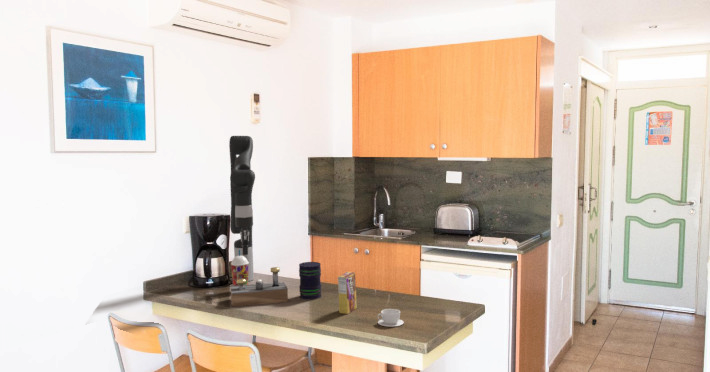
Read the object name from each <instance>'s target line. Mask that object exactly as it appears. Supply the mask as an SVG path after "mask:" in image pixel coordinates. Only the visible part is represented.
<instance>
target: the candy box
mask: <svg viewBox="0 0 710 372" xmlns="http://www.w3.org/2000/svg"><path fill="white" fill-rule="evenodd" d="M337 284H338V285H337V286H338V290H337V291H338V310H339V311H338V312H339V314H343V315H346V314H347V315H348V314H350V313H352V312H353V311H354V310H356V309H357V288H356V271H355V272H353V271H346V272H345V273H342V274H340V275H338V277H337Z"/></svg>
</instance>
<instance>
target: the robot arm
mask: <svg viewBox="0 0 710 372" xmlns="http://www.w3.org/2000/svg"><path fill="white" fill-rule="evenodd" d="M228 143H229V145H228V146H229V162H230V163H229V164H230V179H229V180H230V223H229V225H230V226H229V227H230V231H231V233H232V234H234V235H236V234H237V235H238V234H239V235H240V238H238V239H237V240H235V241H234V242H233V252H234V254H233V255H234V256H233V258H235V257H236V256H238V255H239V250H240V255H242V256H244V257H246V259H247V260H248V262H249V276H248V282H251V281H254V278H255V277H254V255H253V254H254V252H253V227H254V226H253V225H254V215H253V213H254V212H253V202H252V196H253V195H252V193H253V189H254V188H253V187H254V184H255V180H256V174H255V172H254V170H252V168H251V167H252V165H251V162H252V161H251V159H252V157H253V152H254V151H253V150H254V141H253V138H252V136H249V135H231V136H230V137H229V141H228Z"/></svg>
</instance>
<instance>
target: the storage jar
mask: <svg viewBox="0 0 710 372" xmlns="http://www.w3.org/2000/svg"><path fill="white" fill-rule="evenodd" d="M298 266H299V267H298V269H299V270H298V273H299V294H300V295H299V298H300V299H302V300H309V301H310V300H312V301H313V300H317V299H320V298H322V283H321V276H322V269H321V268H322V267H321V262H318V261H306V262H305V261H304V262H299V264H298Z"/></svg>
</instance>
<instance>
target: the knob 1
mask: <svg viewBox="0 0 710 372" xmlns="http://www.w3.org/2000/svg"><path fill="white" fill-rule="evenodd" d="M245 283H246V279H237V284H239V290H240V289H244V284H245Z"/></svg>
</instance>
